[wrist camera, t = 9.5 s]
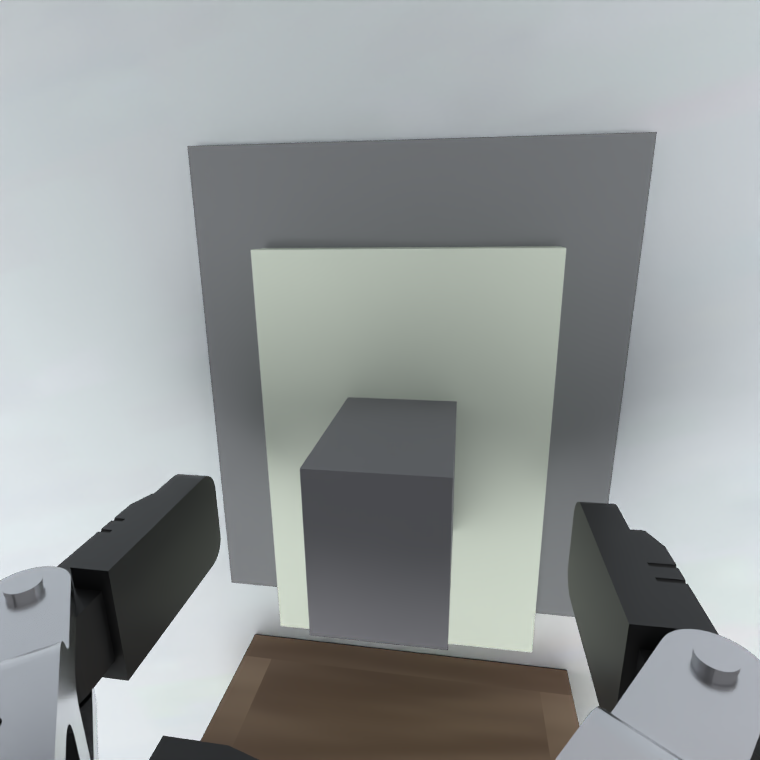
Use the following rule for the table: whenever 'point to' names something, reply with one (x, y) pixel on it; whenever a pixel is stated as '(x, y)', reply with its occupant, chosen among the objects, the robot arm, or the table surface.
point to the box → (389, 706)
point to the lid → (409, 437)
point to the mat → (428, 229)
